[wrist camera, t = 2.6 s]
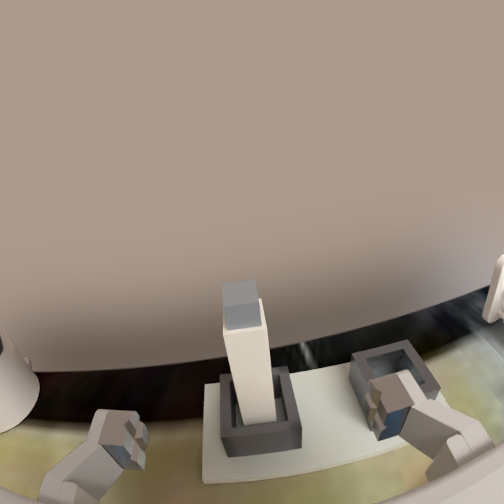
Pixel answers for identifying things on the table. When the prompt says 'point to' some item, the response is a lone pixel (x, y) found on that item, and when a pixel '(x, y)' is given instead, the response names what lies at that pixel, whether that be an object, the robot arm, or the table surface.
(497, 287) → the cable organizer
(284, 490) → the table surface
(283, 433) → the panel
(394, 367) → the box
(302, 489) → the table surface
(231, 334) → the plug
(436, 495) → the robot arm
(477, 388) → the table surface
